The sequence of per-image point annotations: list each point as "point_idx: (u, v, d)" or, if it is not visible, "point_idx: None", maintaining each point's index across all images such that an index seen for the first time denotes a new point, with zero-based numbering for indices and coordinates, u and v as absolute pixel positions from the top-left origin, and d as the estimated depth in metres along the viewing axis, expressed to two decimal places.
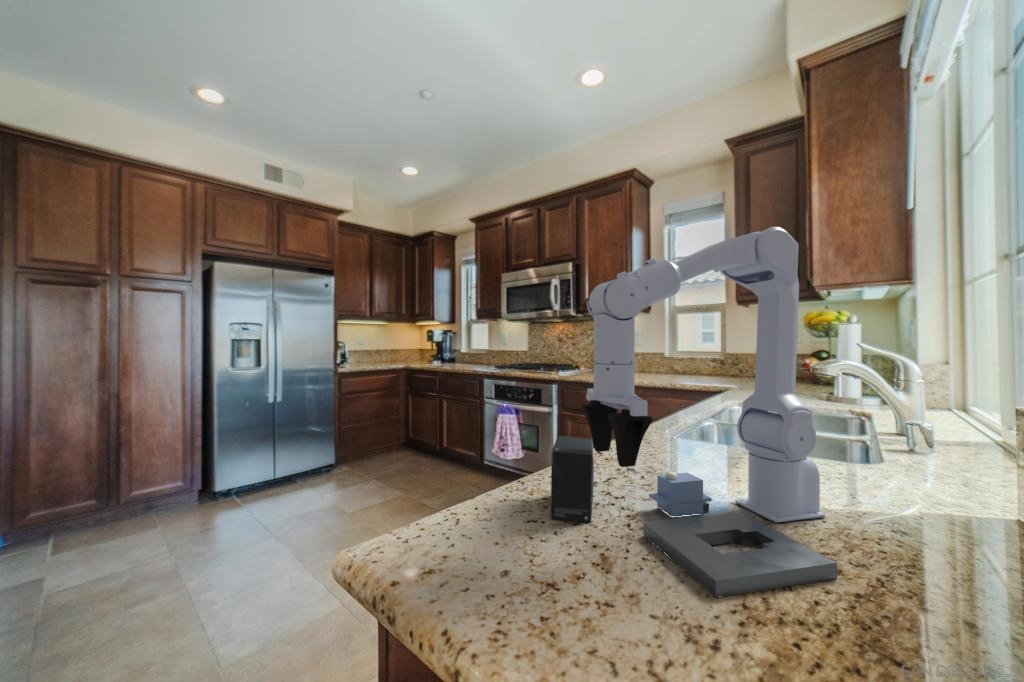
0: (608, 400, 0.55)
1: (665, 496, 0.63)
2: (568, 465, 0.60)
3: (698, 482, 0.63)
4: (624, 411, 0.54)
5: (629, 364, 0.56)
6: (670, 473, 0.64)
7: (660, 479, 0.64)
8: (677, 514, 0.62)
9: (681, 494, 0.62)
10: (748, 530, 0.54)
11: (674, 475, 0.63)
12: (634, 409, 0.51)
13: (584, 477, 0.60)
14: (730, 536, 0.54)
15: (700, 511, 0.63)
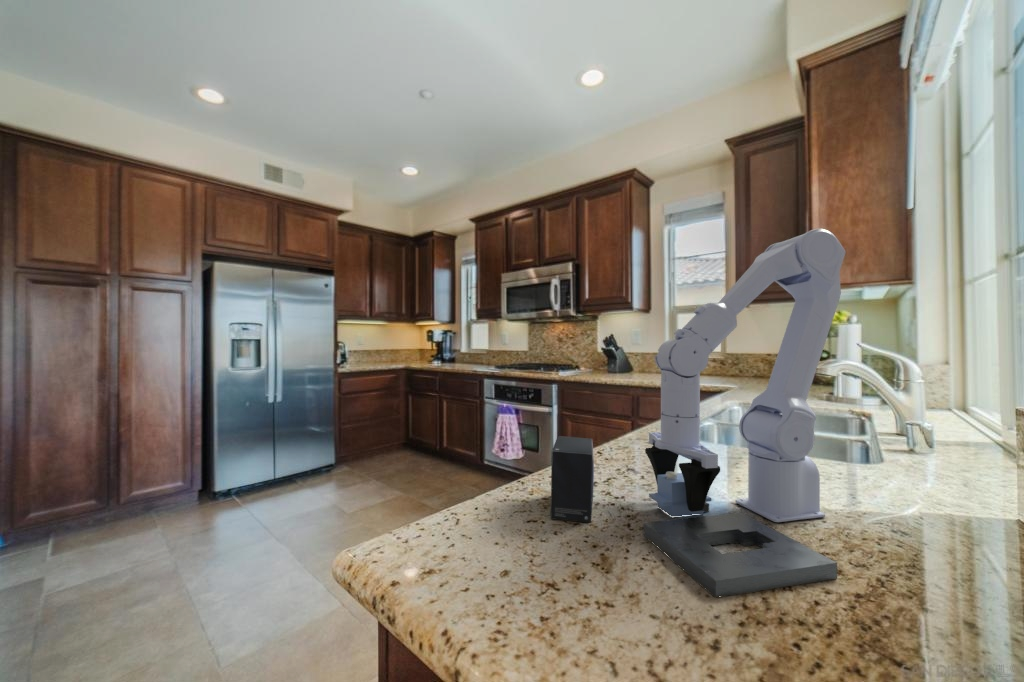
0: (678, 450, 0.61)
1: (665, 496, 0.63)
2: (568, 465, 0.60)
3: None
4: (694, 461, 0.59)
5: (696, 417, 0.62)
6: (670, 473, 0.64)
7: (660, 479, 0.64)
8: (677, 514, 0.62)
9: (681, 494, 0.62)
10: (748, 530, 0.54)
11: (674, 475, 0.63)
12: (706, 462, 0.57)
13: (584, 477, 0.60)
14: (730, 536, 0.54)
15: (700, 511, 0.63)
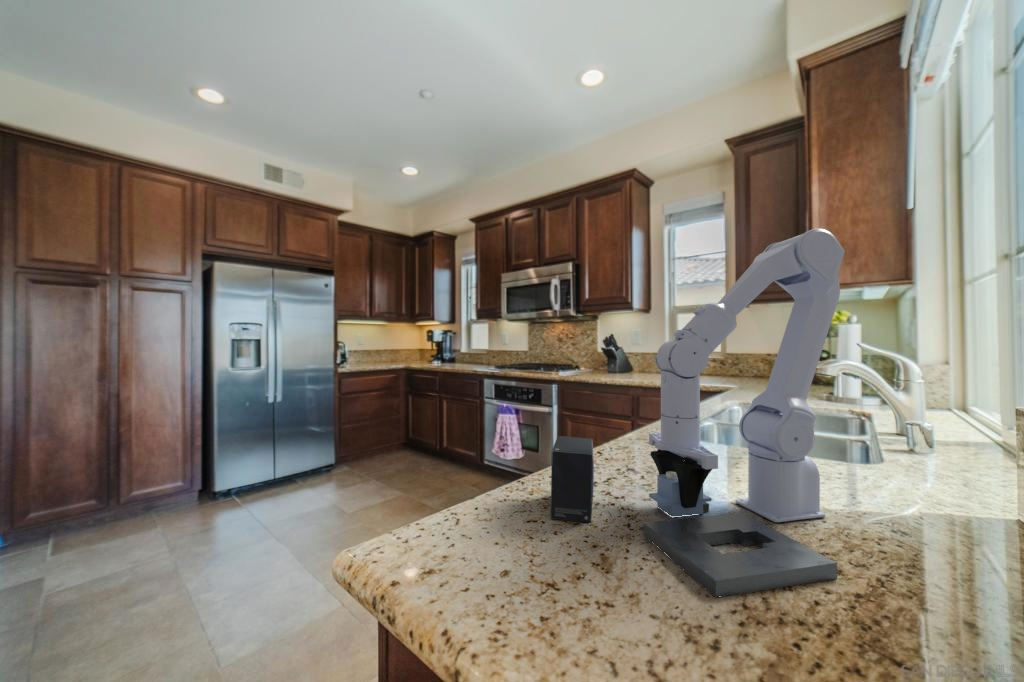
0: (678, 451, 0.61)
1: (665, 496, 0.63)
2: (568, 465, 0.60)
3: None
4: (694, 462, 0.59)
5: (696, 418, 0.62)
6: (670, 472, 0.64)
7: (660, 479, 0.64)
8: (677, 514, 0.62)
9: None
10: (748, 530, 0.54)
11: (674, 475, 0.63)
12: (706, 463, 0.57)
13: (584, 477, 0.60)
14: (730, 536, 0.54)
15: (700, 511, 0.63)
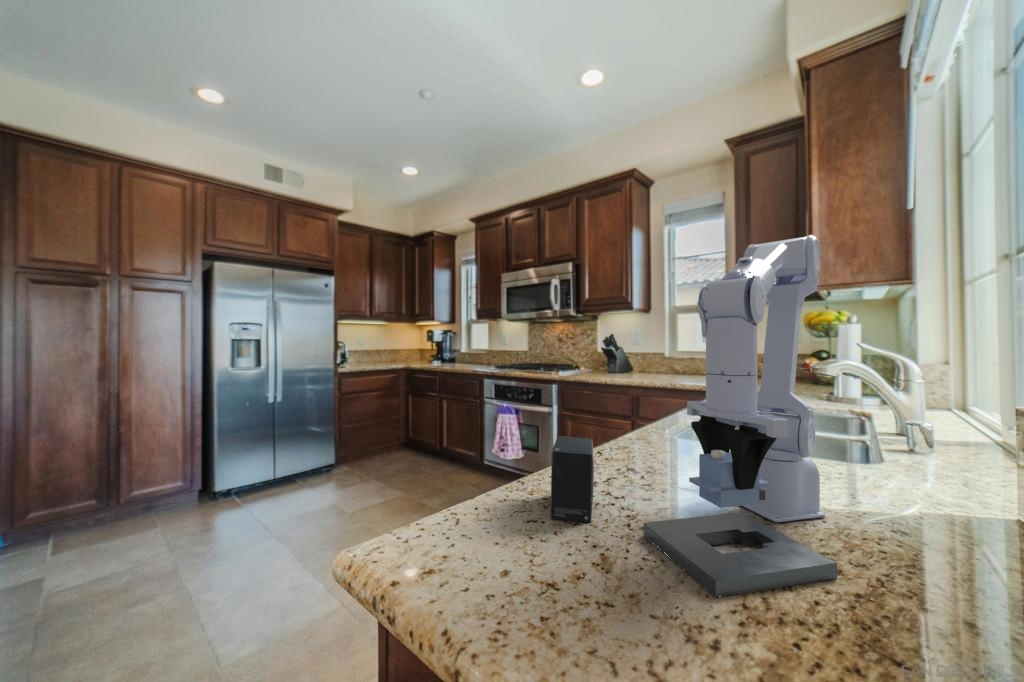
0: (732, 417, 0.48)
1: (711, 480, 0.50)
2: (568, 465, 0.60)
3: None
4: (755, 430, 0.46)
5: (754, 375, 0.49)
6: (716, 451, 0.51)
7: (704, 459, 0.51)
8: (727, 503, 0.49)
9: (732, 478, 0.49)
10: (748, 530, 0.54)
11: (722, 454, 0.50)
12: (774, 429, 0.44)
13: (584, 477, 0.60)
14: (730, 536, 0.54)
15: (756, 499, 0.49)
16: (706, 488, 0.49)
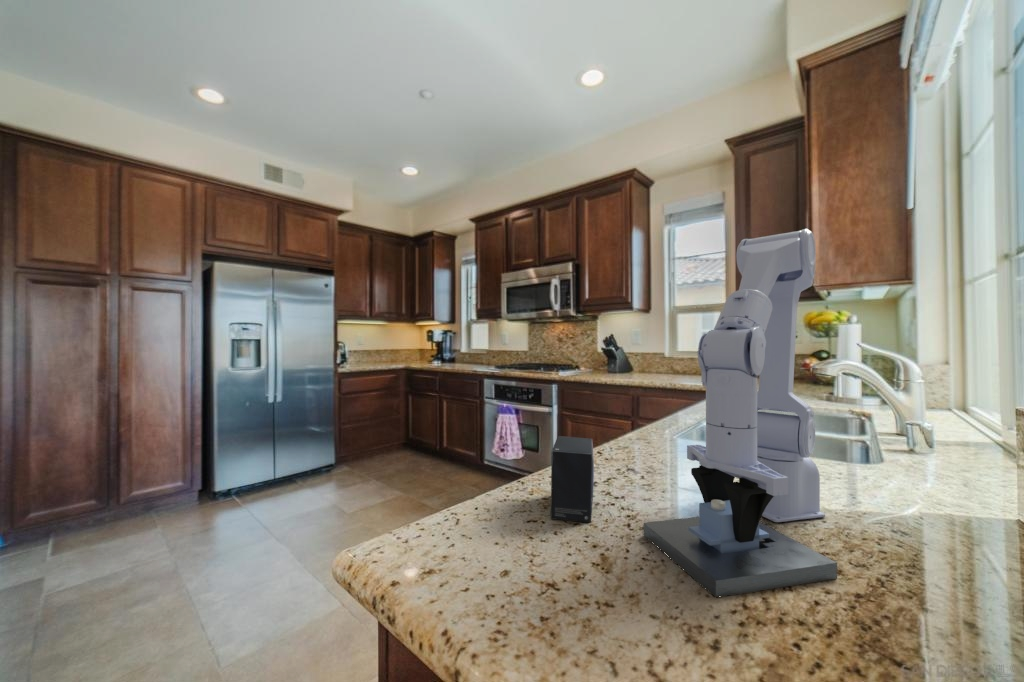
0: (732, 470, 0.48)
1: (711, 531, 0.50)
2: (568, 465, 0.60)
3: None
4: (755, 485, 0.46)
5: (754, 428, 0.49)
6: (716, 501, 0.51)
7: (704, 509, 0.51)
8: None
9: (732, 530, 0.49)
10: None
11: (722, 505, 0.50)
12: (774, 487, 0.44)
13: (584, 477, 0.60)
14: None
15: None
16: (706, 540, 0.49)
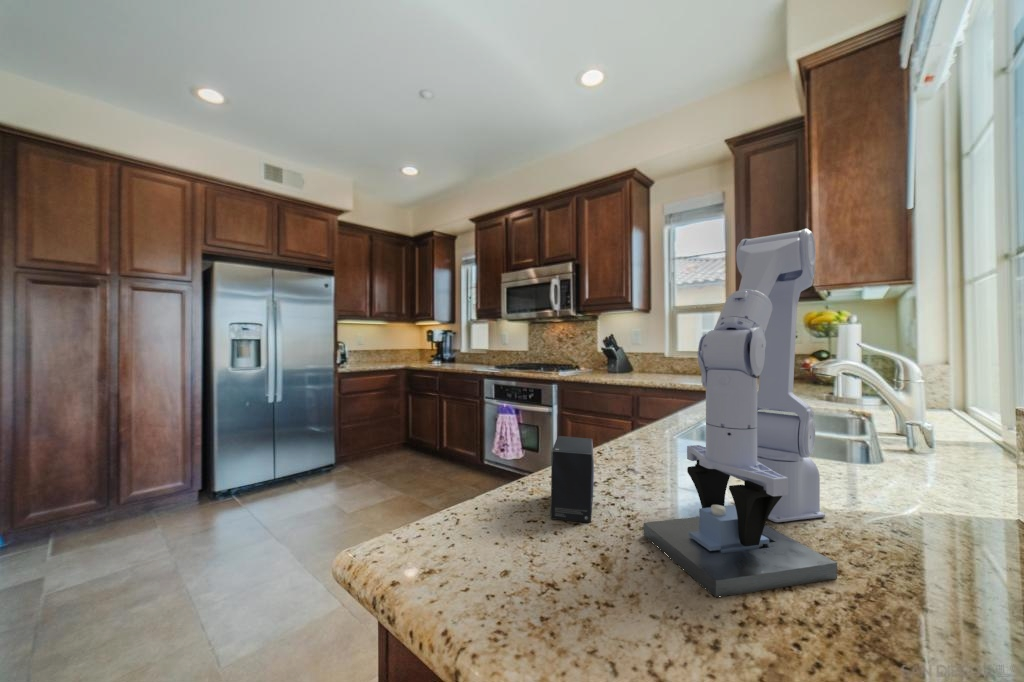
0: (732, 471, 0.48)
1: (711, 537, 0.50)
2: (568, 465, 0.60)
3: None
4: (755, 486, 0.46)
5: (754, 428, 0.49)
6: (716, 506, 0.51)
7: (704, 515, 0.51)
8: None
9: (732, 535, 0.49)
10: None
11: (722, 510, 0.50)
12: (774, 488, 0.44)
13: (584, 477, 0.60)
14: None
15: None
16: (706, 546, 0.49)
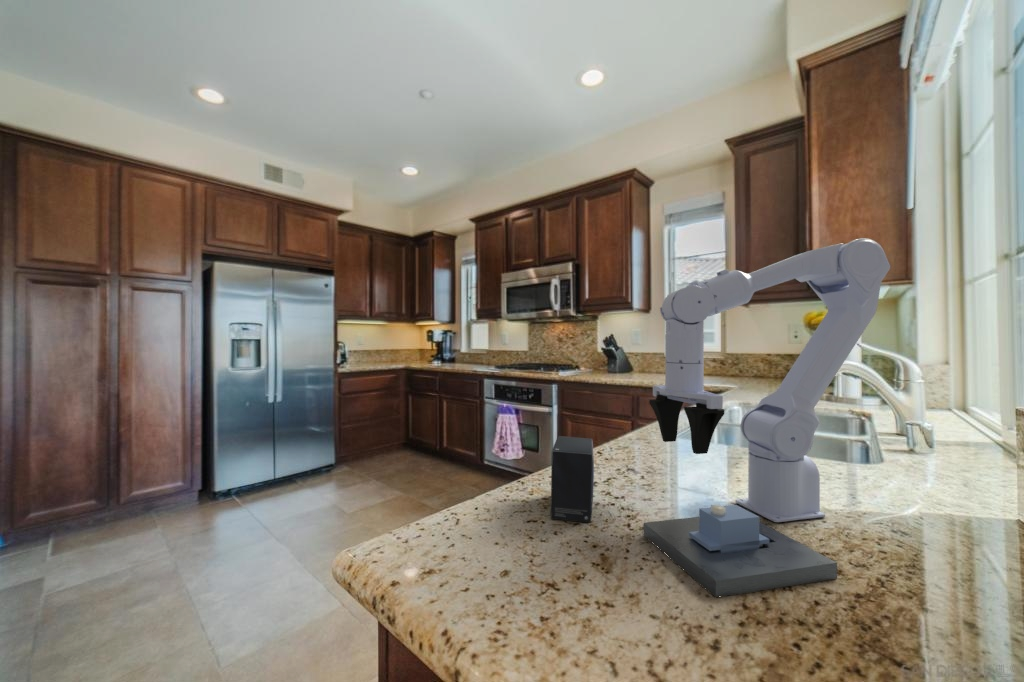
0: (683, 395, 0.62)
1: (711, 537, 0.50)
2: (568, 465, 0.60)
3: (753, 519, 0.49)
4: (699, 405, 0.61)
5: (700, 363, 0.63)
6: (716, 507, 0.51)
7: (704, 515, 0.51)
8: None
9: (733, 536, 0.49)
10: None
11: (722, 510, 0.50)
12: (711, 403, 0.58)
13: (584, 477, 0.60)
14: None
15: None
16: (706, 546, 0.49)
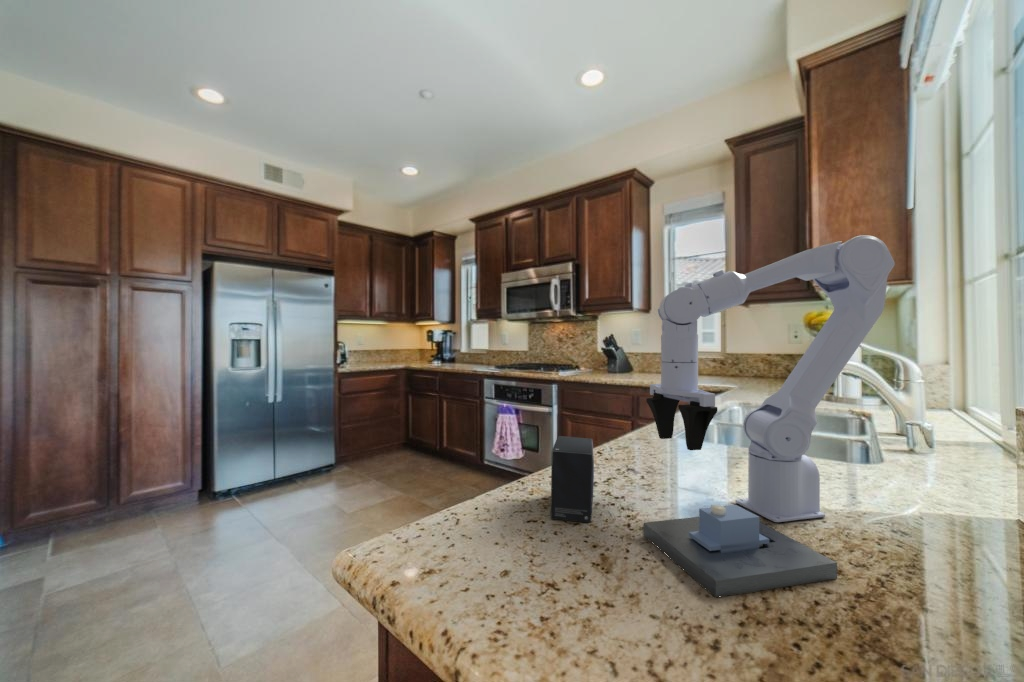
0: (677, 393, 0.64)
1: (711, 537, 0.50)
2: (568, 465, 0.60)
3: (753, 519, 0.49)
4: (693, 402, 0.63)
5: (695, 362, 0.65)
6: (716, 507, 0.51)
7: (704, 515, 0.51)
8: None
9: (732, 535, 0.49)
10: None
11: (722, 510, 0.50)
12: (704, 400, 0.60)
13: (584, 477, 0.60)
14: None
15: None
16: (706, 546, 0.49)
